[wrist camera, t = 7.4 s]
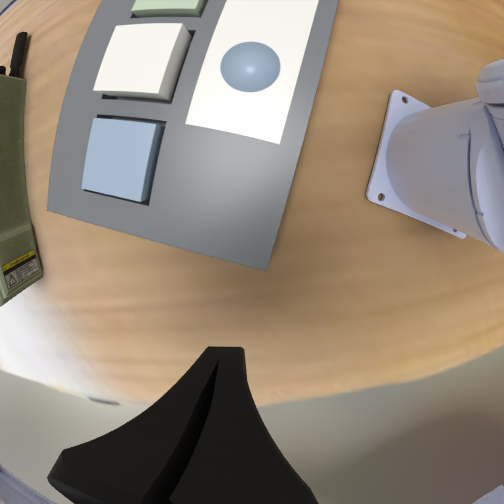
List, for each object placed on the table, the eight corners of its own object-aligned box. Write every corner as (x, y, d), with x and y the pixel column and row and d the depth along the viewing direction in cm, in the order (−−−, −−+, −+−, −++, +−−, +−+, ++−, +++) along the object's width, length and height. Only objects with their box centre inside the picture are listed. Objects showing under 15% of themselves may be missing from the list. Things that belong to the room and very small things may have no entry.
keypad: (346, -50, 10) (353, -68, 7) (266, 257, 18) (266, 272, 16) (164, -66, 10) (155, -81, 7) (67, 204, 18) (45, 211, 15)
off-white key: (191, 37, 12) (182, 23, 10) (170, 100, 14) (158, 93, 12) (130, 36, 12) (116, 25, 10) (109, 96, 14) (92, 90, 12)
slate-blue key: (168, 128, 15) (156, 124, 13) (153, 197, 16) (140, 201, 14) (110, 121, 15) (93, 117, 13) (98, 184, 16) (81, 188, 14)
